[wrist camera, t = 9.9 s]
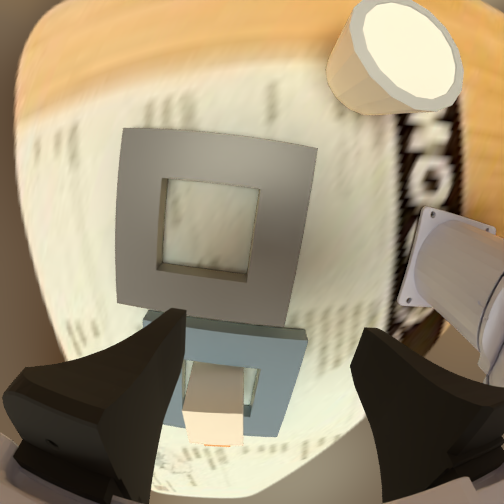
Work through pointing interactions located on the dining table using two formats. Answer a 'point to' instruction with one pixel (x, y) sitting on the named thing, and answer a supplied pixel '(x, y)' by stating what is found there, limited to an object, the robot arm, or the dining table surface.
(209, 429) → the plug
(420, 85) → the cream tapered cup
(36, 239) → the dining table surface
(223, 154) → the socket
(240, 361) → the socket
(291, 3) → the dining table surface
